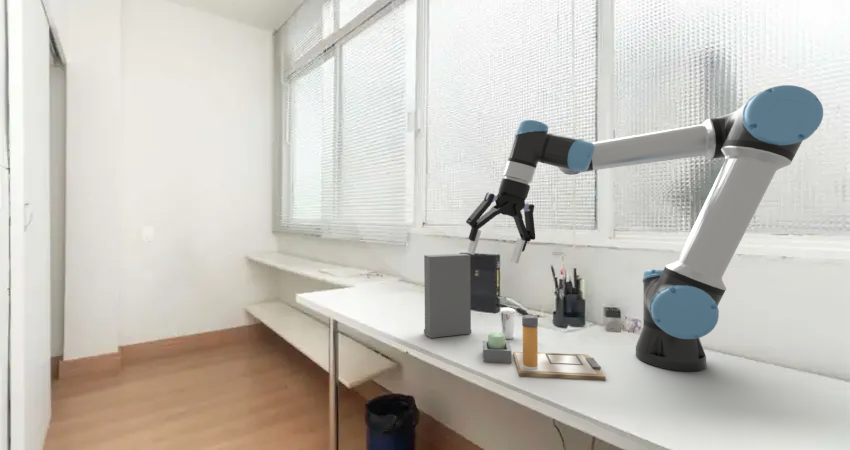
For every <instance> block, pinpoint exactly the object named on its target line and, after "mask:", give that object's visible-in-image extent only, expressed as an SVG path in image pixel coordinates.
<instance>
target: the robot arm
mask: <svg viewBox="0 0 850 450" xmlns="http://www.w3.org/2000/svg"><path fill="white" fill-rule="evenodd" d="M823 117H824V108H823V104H822V102H821V101H820V100H819V98H818V97H817V95H816V94H815V93H813V91H810V90H809V89H807V88H805V87H802V86H797V85H788V84H785V85H784V84H783V85H777V86H773V87H769V88H767V89H765V90H762V91H759V92H758V93H756V94H754V95H753V96H751V98H750V99H748V101H747V102H746V103H744V105H742V106H741V107H739V108H738V109H737V110H735V111H733V112H731V113H728V114H725V115H721V116H718V117H717V116H716V117H712V118H708V119H706V120H704V122H702V123H701V124H696V125H691V126H685V127H677V128H672V129H666V130H660V131H652V132H647V133H642V134H636V135H630V136H629V135H628V136H623V137H618V138H611V139H604V140H599V141H588V140H584V139H583V138H575V137H569V136H564V135H558V134H554V133H550V132H549V125H548V124H547V123H545V122H542V121H538V120H535V119H527V118H526V119H523V120H521V121H519V123H518V127H517V129H516V132H515V134H514V137H513V141H512V144H511V148H510V152H509V155H508V158H507V162H506V165H505V169H504V172H503V176H504V177H503V178H502V179H501V181H500V185H499V188H498V193H497V195H495V193H491V192H489V191H488V192H486V194H485V196H484V198H483V200H482V201H481V202H480V204H478V206H477V207H476V208H475V210H473V212H472V213H471V215H469V216H468V218H467V219H466V220H465V221H466V222H465V223H466V224H468V225H469V226H470V227H471V229H470V231H469V235H468V239H469V240H470V241H469V242H470V243H469V246H468V247H467V248H468V249H467V252H468V253H469V254H470V255H473V256H474V255H475V254H476V250H477V247H478V244H479V240H480V237H481V234H482V230H480V228H482V227H483V226H485V225H486V224H487V223H488V222H490V221H491V220H493V219H494V218H495V217H496V216H498V215H500V214H501V215H504V216H509V217H512V218H513V220H514V222H515V223H514V224H515V226H516V229H517V230H518V234H519V236H520V237H517V238H516V242H515V245H514V248H513V252H512V255H511V257H510V261H512V262H513V263H515V264H519V261H520V259H521V255H522V252H524V251H525V250H526V246H527V244H528V242H529V243H530V241H531V240H533V241H534V240H536V231H535V230H536V229H535V219H534V210H535V205H534V204H532V203H529V202H526V199H527V198H528V195H529V192H530V190H531V186H530V184H531V183H532V182H533V180H534V176H535V173H536V169H537V166H538V163H541V164H545V165H550V166H554V167H557V168H558V169H559V171H561V172H562V173H564V174H565V175H568V176H569V175H578V174H580V173H587V172H593V171H597V170H606V169H613V168H614V169H615V168H622V167H629V166H635V165H636V166H637V165H643V164H651V163H657V162H667V161H673V160H680V159H687V158H694V157H695V158H696V157H702V156H703V157H706V158H707V159H709V160H712V159H713V160H714V159H720V158H721V159H722V158H725V160H724V162H723V165H722V167H721V168H720V170H719V173H718V174H717V177H716V178H715V181H714V183H713V184H712V185H713V186H712V187H711V189H710V191H709V194H708V195H707V198H705V201H704V204H703V205H702V207H701V210H700V212H699V214H698V216H697V218H696V220H695V222H694V224H693V226H692V228H691V230H690V233H689V235H688V237H687V239H686V241H685V243H684V245H683V247H682V249H681V251H680V253H679V256H678V257H677V259H676V260H675V261H674V262H671V263H669V264H668V263H667V264H666V265H665V266H664V269H646V270H645V271H644V272H643V278H642V283H643V309H642V310H643V312H642V313H643V317H642V318H643V319H642V320H643V327H642V330H641V332H640V334H639V337H638V339H637V342H636V344H635V357H636V358H637V359H639V360H640V361H642V362H644V363H646V364H648V365H651V366H653V367H654V366H655V367H657V368H661V369H667V370H673V371H678V372H679V371H681V372H697V371H698V372H699V371H702V370H705V369H706V367H707V356H706V352H705V350H704V347H703V345H702V341H701V339H700V338H703V337H705V336H706V335H708V334H710V333H712V332H713V330H714V329H715V327H717V325H718V322H719V315H720V314H719V312H720V311H719V310H720V309H719V307H718V306H719V304H720V302H721V301H722V298H723V296H724V295H725V293H726V290H727V287H726V285H725V284H724V282H723V276H724V274H725V272H726V271H727V269H728V267H729V264H730V263H731V260H732V259H733V257H734V254H735V252H736V251H737V249H738V247H739V245H740V243H741V241H742V239H743V238H744V235H745V233H746V231H747V229H748V227H749V225H750V223H751V221H752V219H753V217H754V216H755V213H756V212H757V210H758V207H759V206H760V203H761V202H762V200H763V197H764V196H765V194H766V193H767V189H768V188H769V186H770V184H771V182H772V180H773V178H774V176H775V174H776V172H777V171H779V170H780V169H783V168H785V167H788V166H790V165H791V164H792V162H793V160H794V158H795V156H796V155H797V152H798V150H799V148H800V147H801V144H802V143H803V141H806V140H807V139H808V138H810V137H811V136H812V135H813V134H814V133H815V132H817V130H818V129H819V127H820V125H821V123H822V121H823ZM525 202H526V203H525ZM492 203H495V205H493V206H492V207H490V206H491V205H492ZM489 207H490V209H489V210H488V208H489ZM487 210H488V211H487ZM486 211H487V212H486ZM522 211H524V212H523V213H524V219H523V215H522Z"/></svg>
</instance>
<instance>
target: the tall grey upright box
mask: <svg viewBox="0 0 850 450" xmlns="http://www.w3.org/2000/svg"><path fill="white" fill-rule="evenodd" d="M423 256H424V259H423V261H424V264H423V265H424V276H423V277H424V329H423V333H424V335H426V336H427V337H429V339H433V338H441V337H442V338H443V337H451V336H459V335H460V336H462V335H470V334H472V327H471V326H472V323H471V322H472V318H471V317H472V316H471V315H472V314H471V312H472V311H471V310H472V308H471V307H472V306H471V301H472V299H471V296H472V295H471V254H466V253H452V254H450V253H449V254H448V253H447V254H445V253H444V254H424V255H423Z"/></svg>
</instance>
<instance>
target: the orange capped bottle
mask: <svg viewBox="0 0 850 450" xmlns="http://www.w3.org/2000/svg"><path fill="white" fill-rule="evenodd" d="M521 318H522V319H521V320H522V322H521V325H522V352H523V368H525V369H529V370H535V369H537V368H538V353H539V351H538V350H539V349H538V348H539V347H538V344H539V343H538V327H539V317H538V316H537V315H533V314H531V315H530V314H526V315H525V314H524V315H522V316H521Z"/></svg>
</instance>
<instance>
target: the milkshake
mask: <svg viewBox="0 0 850 450" xmlns="http://www.w3.org/2000/svg"><path fill="white" fill-rule="evenodd" d="M518 306H519V305H517V306H516V308H515V309H514V308H511V307H509V306H508V307H502V308H500V310H499V315H500V316H499V317H500V326H501V327H500V328H501V333H502V334H504V335H505V340H512V339H514V332H515V320H516V319H515V317H516V311H517V308H518Z"/></svg>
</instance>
